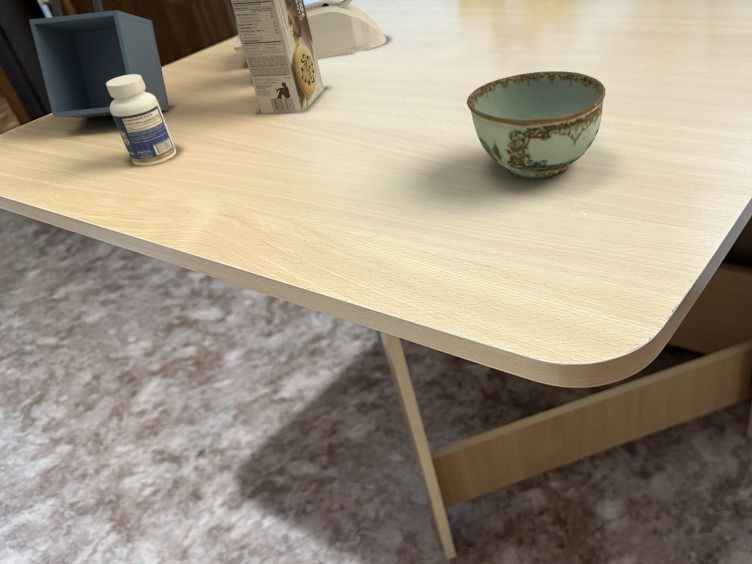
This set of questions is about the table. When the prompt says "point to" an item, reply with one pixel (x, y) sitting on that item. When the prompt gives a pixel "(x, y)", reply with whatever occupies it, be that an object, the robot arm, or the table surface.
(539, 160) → the bowl
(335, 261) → the table surface
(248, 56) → the cookie box
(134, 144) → the pill bottle
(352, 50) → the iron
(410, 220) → the table surface
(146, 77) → the drawer
